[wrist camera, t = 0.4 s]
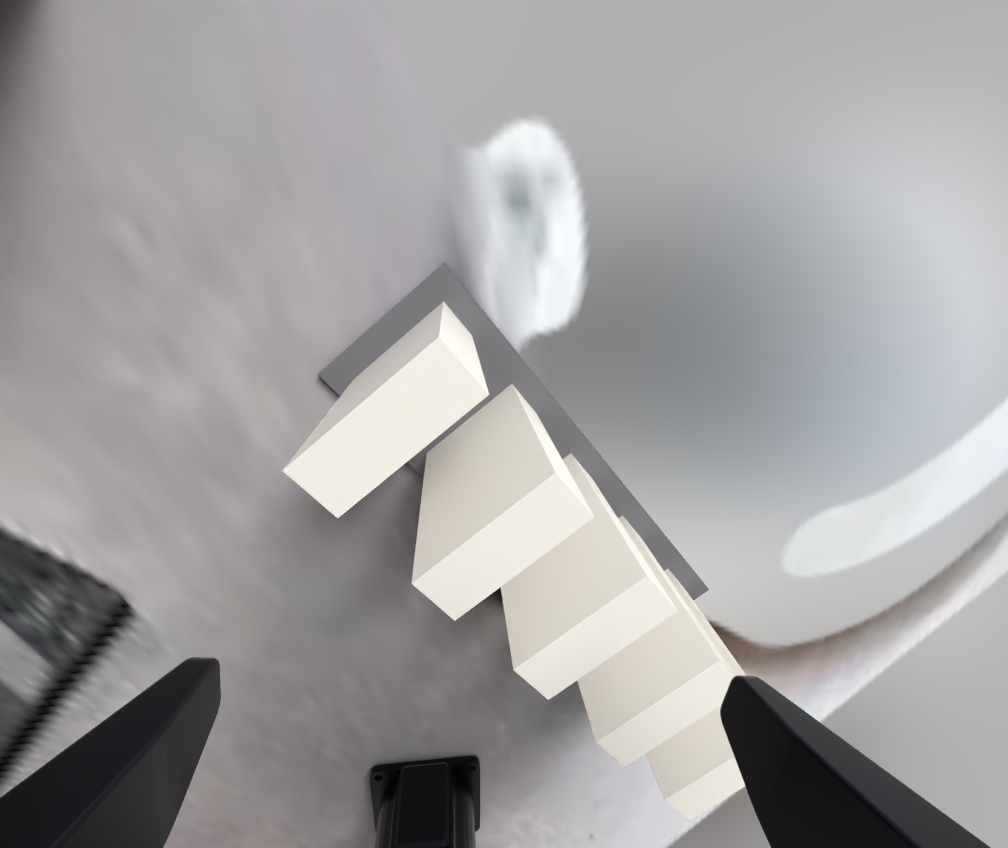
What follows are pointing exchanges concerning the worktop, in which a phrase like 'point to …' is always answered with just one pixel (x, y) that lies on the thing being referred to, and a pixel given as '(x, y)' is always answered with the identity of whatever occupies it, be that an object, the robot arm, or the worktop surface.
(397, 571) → the worktop surface
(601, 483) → the strip
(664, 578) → the domino
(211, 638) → the worktop surface
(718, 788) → the domino
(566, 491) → the domino
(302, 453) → the domino
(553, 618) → the domino
